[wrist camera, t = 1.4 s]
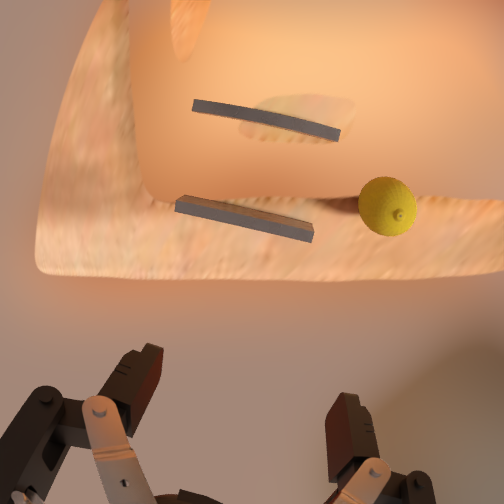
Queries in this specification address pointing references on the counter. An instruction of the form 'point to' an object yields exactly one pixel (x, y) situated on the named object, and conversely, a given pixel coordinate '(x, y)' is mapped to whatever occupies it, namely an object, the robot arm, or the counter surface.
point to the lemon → (387, 206)
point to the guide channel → (246, 215)
